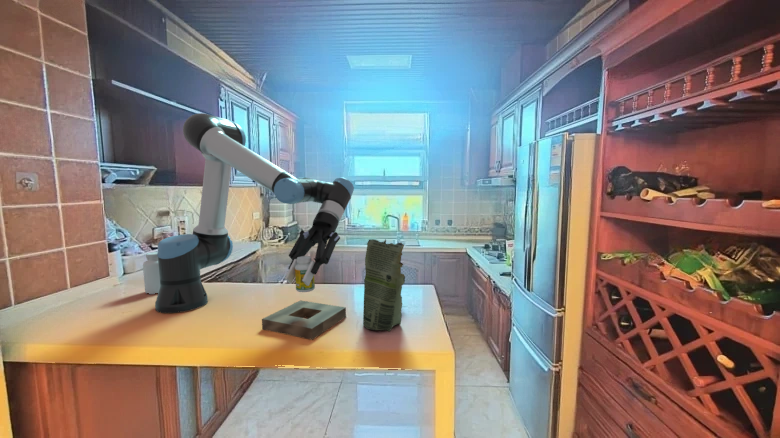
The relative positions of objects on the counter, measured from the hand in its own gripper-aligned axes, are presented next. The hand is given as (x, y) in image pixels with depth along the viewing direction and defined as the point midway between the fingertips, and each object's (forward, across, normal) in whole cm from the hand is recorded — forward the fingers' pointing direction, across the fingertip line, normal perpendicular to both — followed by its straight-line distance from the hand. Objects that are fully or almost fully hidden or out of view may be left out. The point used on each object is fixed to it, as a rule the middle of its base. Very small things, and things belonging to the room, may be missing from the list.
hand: (296, 281), depth 97 cm
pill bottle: (+5, +72, -14) cm, 74 cm away
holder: (+7, 0, -12) cm, 14 cm away
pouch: (+2, -22, -17) cm, 28 cm away
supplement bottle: (0, 0, -5) cm, 5 cm away
